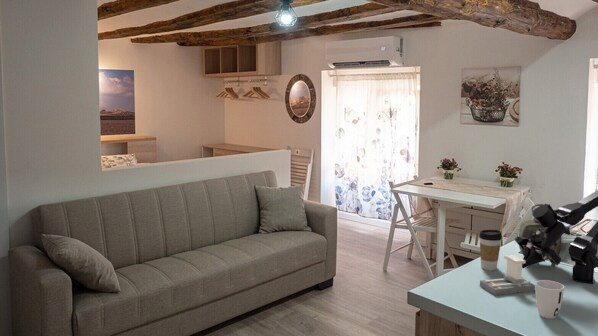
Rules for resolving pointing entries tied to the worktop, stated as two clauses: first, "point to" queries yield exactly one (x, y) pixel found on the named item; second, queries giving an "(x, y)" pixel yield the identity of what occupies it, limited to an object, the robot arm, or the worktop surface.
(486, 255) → the coffee cup
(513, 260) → the plate
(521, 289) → the fader console
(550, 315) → the cup
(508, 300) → the worktop surface
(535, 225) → the tabletop clock
